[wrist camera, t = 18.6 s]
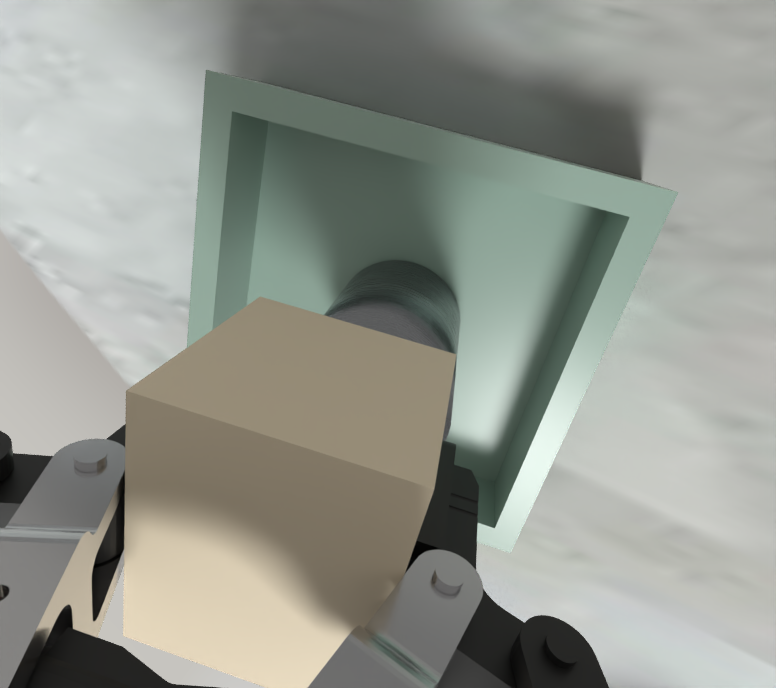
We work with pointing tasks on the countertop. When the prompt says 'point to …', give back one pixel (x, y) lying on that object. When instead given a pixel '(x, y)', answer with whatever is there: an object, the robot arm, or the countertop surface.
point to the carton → (277, 488)
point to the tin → (403, 308)
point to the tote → (428, 256)
